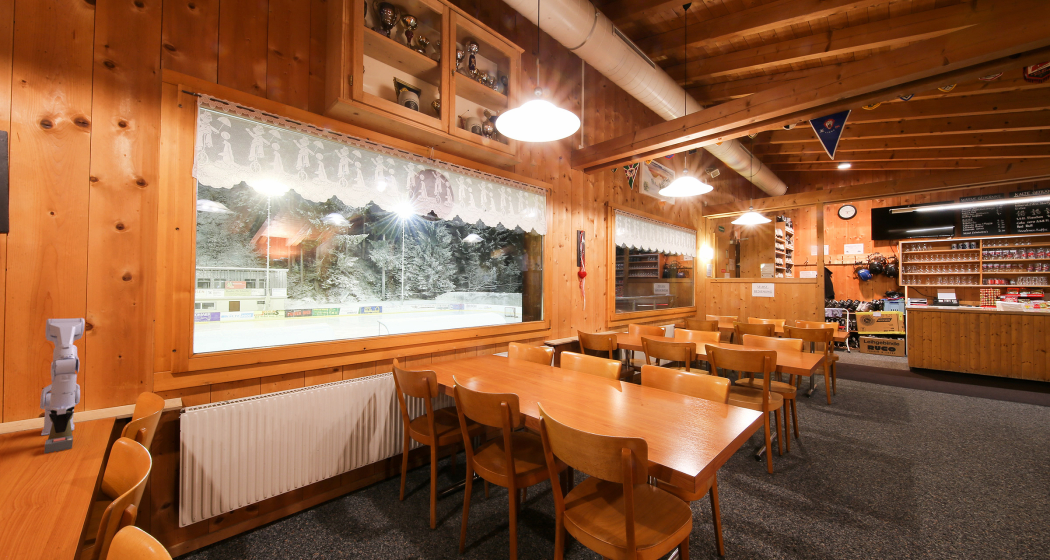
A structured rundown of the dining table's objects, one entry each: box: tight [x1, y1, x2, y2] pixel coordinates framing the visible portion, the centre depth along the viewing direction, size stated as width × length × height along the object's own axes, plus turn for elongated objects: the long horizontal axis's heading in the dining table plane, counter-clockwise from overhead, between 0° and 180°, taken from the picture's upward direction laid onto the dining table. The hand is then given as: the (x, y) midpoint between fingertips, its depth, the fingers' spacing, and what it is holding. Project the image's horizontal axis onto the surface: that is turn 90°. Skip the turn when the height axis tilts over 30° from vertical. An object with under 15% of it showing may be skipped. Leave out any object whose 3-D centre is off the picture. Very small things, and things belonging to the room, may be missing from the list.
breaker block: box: [43, 435, 74, 455], centre depth 131 cm, size 6×6×3 cm
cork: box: [47, 411, 74, 440], centre depth 136 cm, size 6×6×11 cm
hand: (60, 430), depth 136 cm, fingers closed on cork, 5 cm apart
